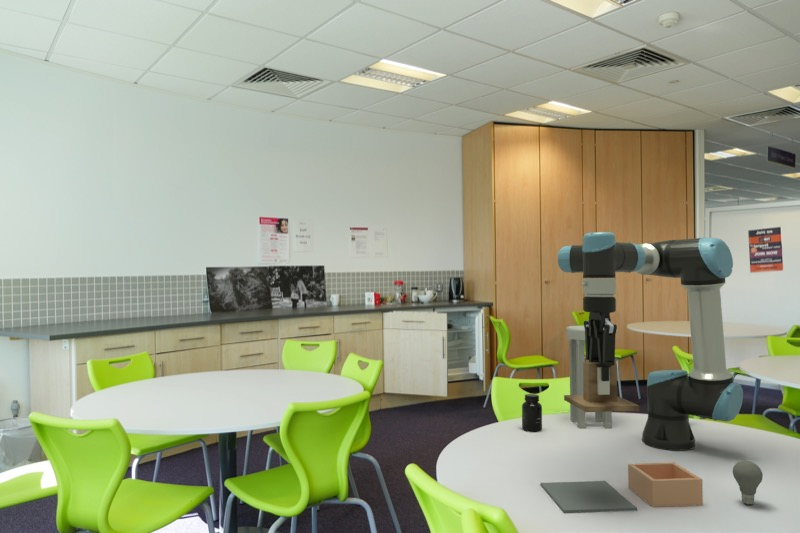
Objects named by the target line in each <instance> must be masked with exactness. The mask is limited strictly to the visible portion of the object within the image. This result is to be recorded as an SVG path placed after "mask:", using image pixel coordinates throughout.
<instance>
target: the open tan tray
mask: <svg viewBox="0 0 800 533" xmlns="http://www.w3.org/2000/svg"><path fill="white" fill-rule="evenodd" d="M627 472H628V474H627V475H628V476H627V477H628V479H627V481H628V482H627V483H628V484H627V486H628V487H627V488H628V489H629V490H631V491H632V492H633V493H635V494H636V495H637V496H638V497H640V498H641V499H642V500H643V501H645V502H646V503H647V504H648V505H649V506H651V507H652V508H660V507H661V508H663V507H687V506H688V507H691V506H690V505H696V506H703V505H704V504H703V503H704V502H703V499H704V495H703V494H704V493H703V491H704V490H703V479H702V478H700V477H699V476H698V475H696V474H694V473H693V472H691V471H689V470H687V469H686V468H684V467H683V466H681V465H679V464H677V463H676V462H642V463H627Z"/></svg>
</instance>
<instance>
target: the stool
mask: <svg viewBox="0 0 800 533" xmlns="http://www.w3.org/2000/svg"><path fill="white" fill-rule="evenodd" d="M565 333H566V334H565V336H566V337H565V338H566V339H569V340H568V341H569V395H583V362H586V361H585V360H586V352H585V328H584V325H569V326H566V329H565ZM569 404H570V403H569ZM569 407H570V408H569V410H570V411H569V412H570V417H569V418H570V422H572V423H577V424H576V425H577V428H578V429H581V430H582V429H586V412H584V411H583V410H581V409H579V408H577V407H576V406H574V405H572V404H570V405H569ZM594 416H595V419H594V420H595V422H597V423H603V424H602V426H603V428H604V429H607V430H608V429H609V430H610V429H611V430H612V429H613V421H612V419H613V411H608V412H594Z"/></svg>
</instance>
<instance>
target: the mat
mask: <svg viewBox="0 0 800 533" xmlns="http://www.w3.org/2000/svg"><path fill="white" fill-rule="evenodd" d="M540 486H541V488H542V489H543V490H544V491H545V493H546V494H547V495H548V496H549V497H550V498H551V499H552V500H553V502H554V503H555V504H556V505H557V506H558V507H559V509H560V510H561V511H562V512H563V513H564V514H569V513H572V514H575V513H598V512H600V513H601V512H605V513H606V512H624V511H625V512H627V511H628V512H629V511H631V512H633V511H638V507H637V506H636V505H634V503H633V502H631V501H630V500H628V499H627V498H626V497H625V496H624V495H623V494H622V493H620V492H619V491H618V490H616V489H615V488H614V487H613V486H612V485H611V484H609V483H608V482H607V481H606V480H591V481H589V480H588V481H560V482H554V481H552V482H540Z"/></svg>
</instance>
